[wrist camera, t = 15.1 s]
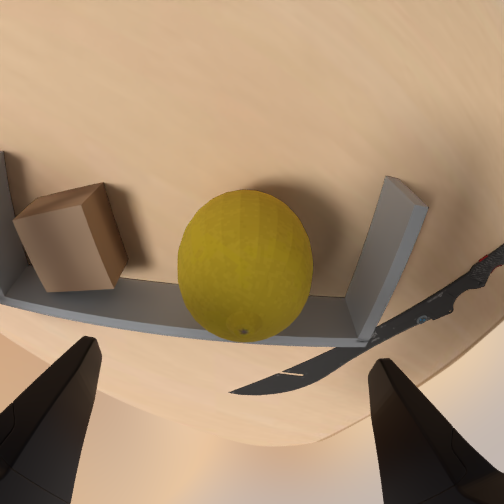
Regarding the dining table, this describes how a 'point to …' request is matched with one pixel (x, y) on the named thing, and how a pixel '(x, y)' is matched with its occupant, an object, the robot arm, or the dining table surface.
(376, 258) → the frame
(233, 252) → the lemon
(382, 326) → the knife
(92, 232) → the brown wooden block
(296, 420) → the dining table surface
